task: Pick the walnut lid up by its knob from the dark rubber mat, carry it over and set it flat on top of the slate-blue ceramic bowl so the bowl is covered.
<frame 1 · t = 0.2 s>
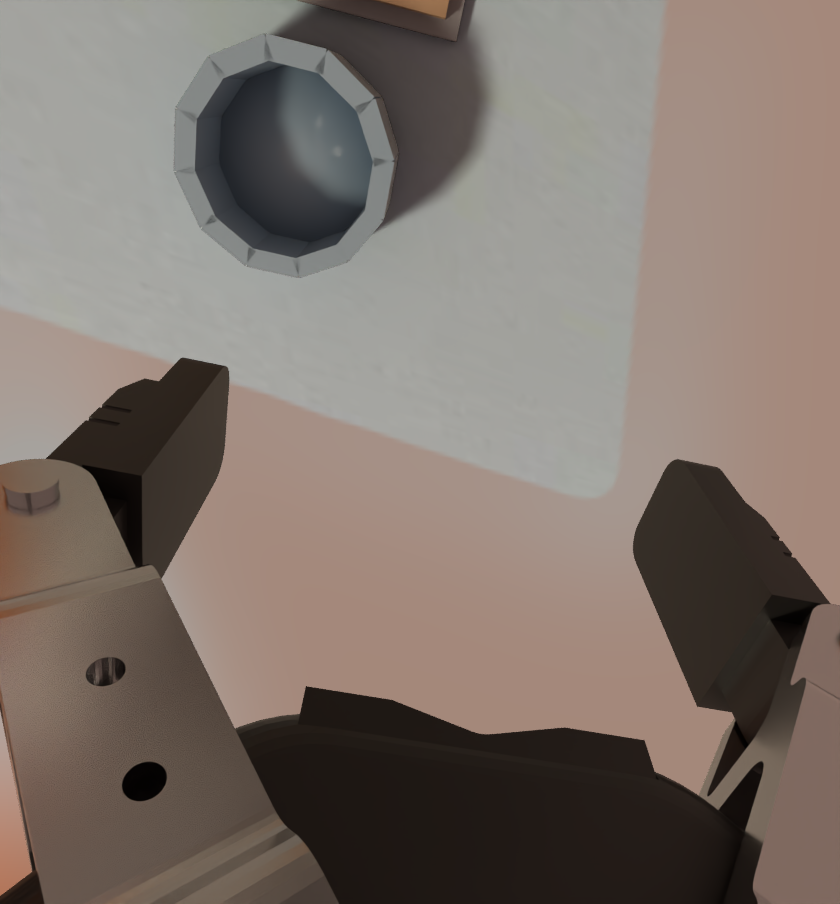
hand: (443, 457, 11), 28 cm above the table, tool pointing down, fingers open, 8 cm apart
bowl: (301, 157, 35), on the table
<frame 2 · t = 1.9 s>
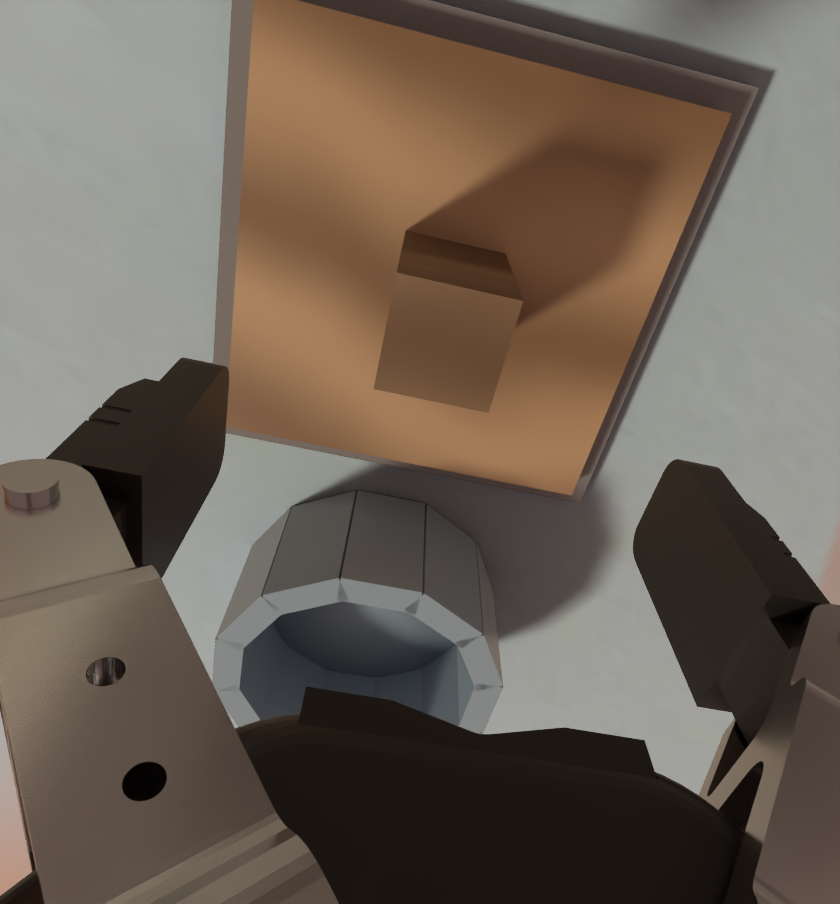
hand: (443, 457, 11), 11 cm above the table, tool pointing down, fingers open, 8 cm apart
lid: (443, 284, 20), point 1 cm above the table, touching mat
mat: (443, 278, 20), on the table
bowl: (368, 592, 27), on the table
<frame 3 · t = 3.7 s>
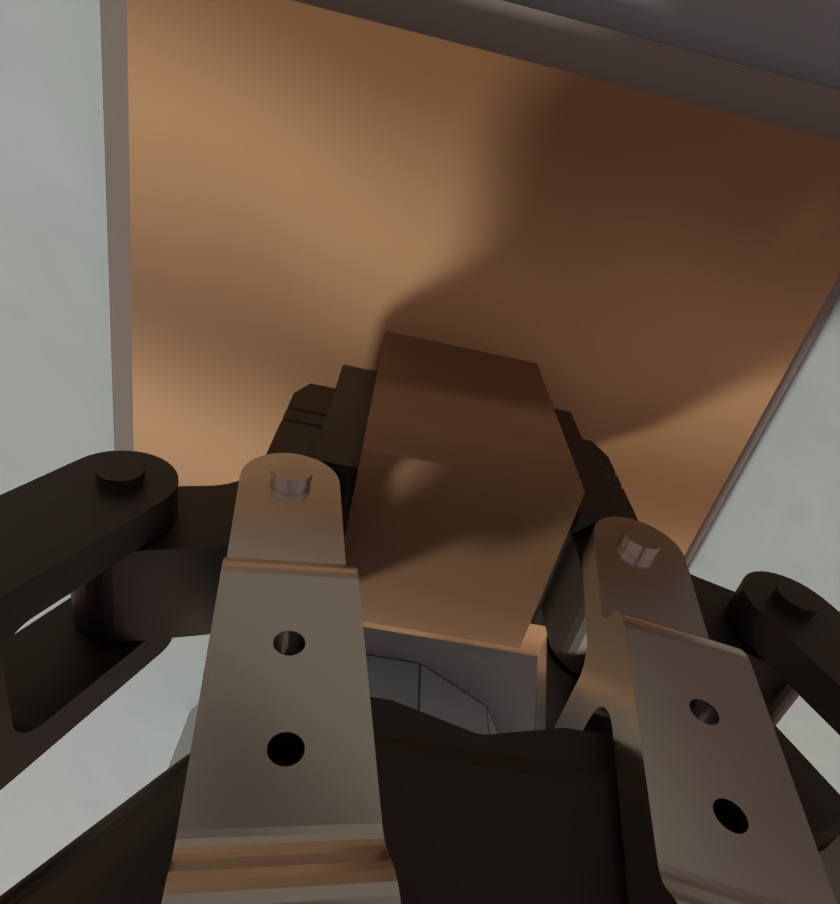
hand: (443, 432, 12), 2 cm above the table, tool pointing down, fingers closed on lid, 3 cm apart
lid: (443, 398, 14), point 1 cm above the table, touching gripper, mat
mat: (442, 386, 14), on the table
bowl: (346, 763, 21), on the table
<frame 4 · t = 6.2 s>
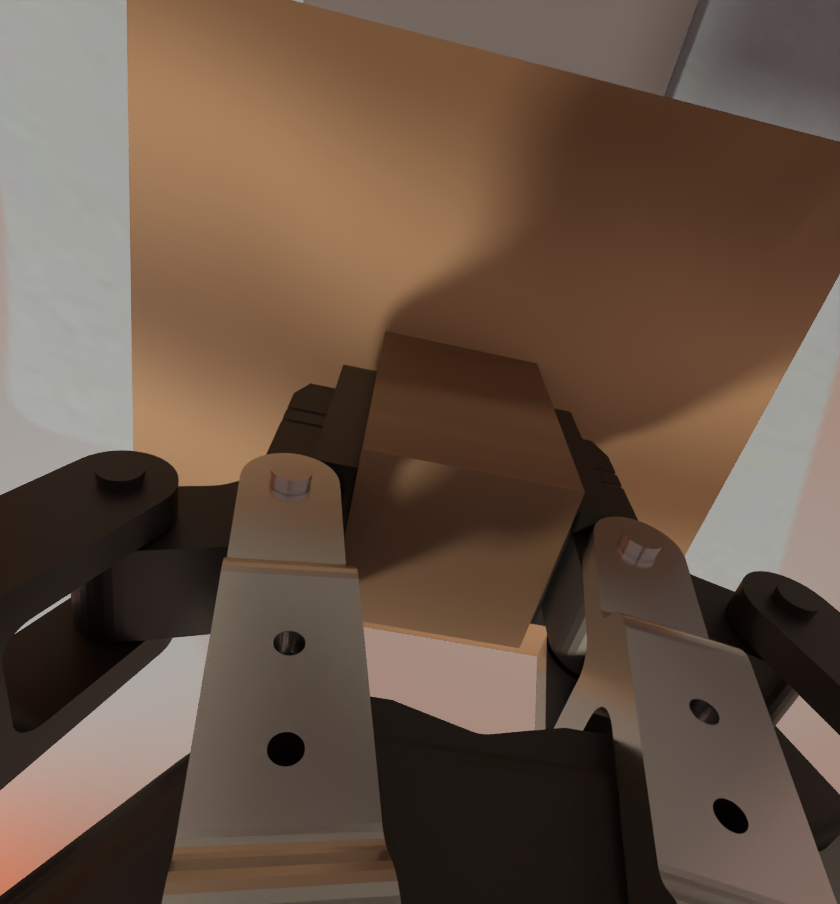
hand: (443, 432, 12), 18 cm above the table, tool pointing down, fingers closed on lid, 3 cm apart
lid: (443, 398, 14), point 17 cm above the table, touching gripper
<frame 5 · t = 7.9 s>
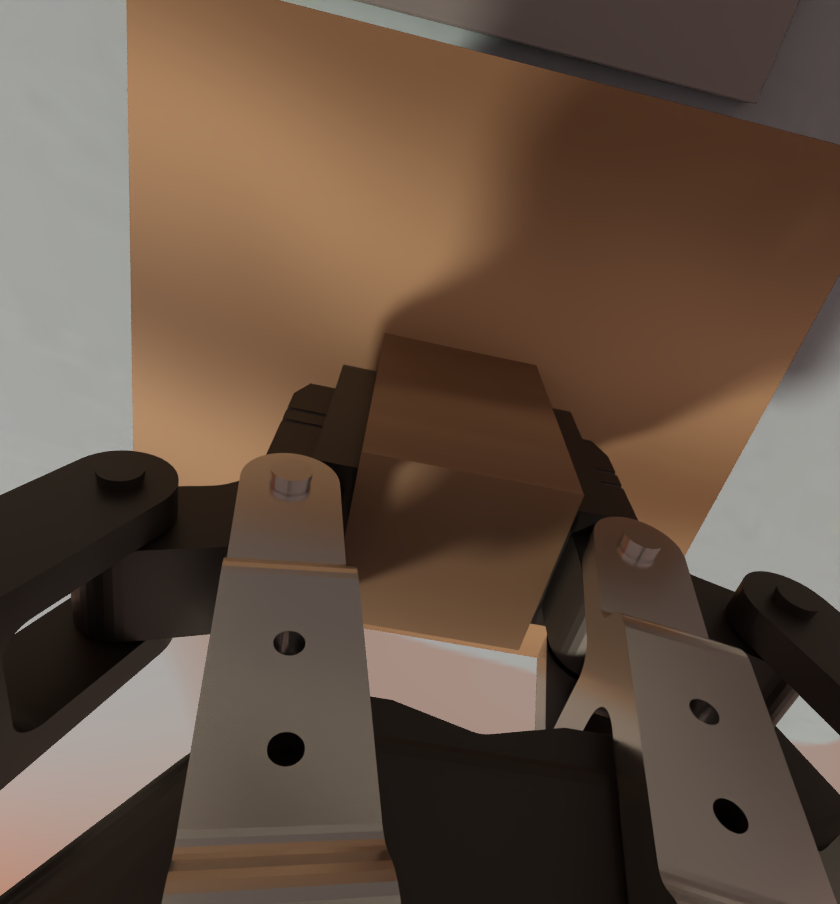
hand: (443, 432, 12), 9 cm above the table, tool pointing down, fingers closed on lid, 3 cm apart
lid: (443, 400, 14), point 8 cm above the table, touching gripper
when the fingers open (8 cm above the table, at t = 8.9 s): lid drops 1 cm, resting on bowl.
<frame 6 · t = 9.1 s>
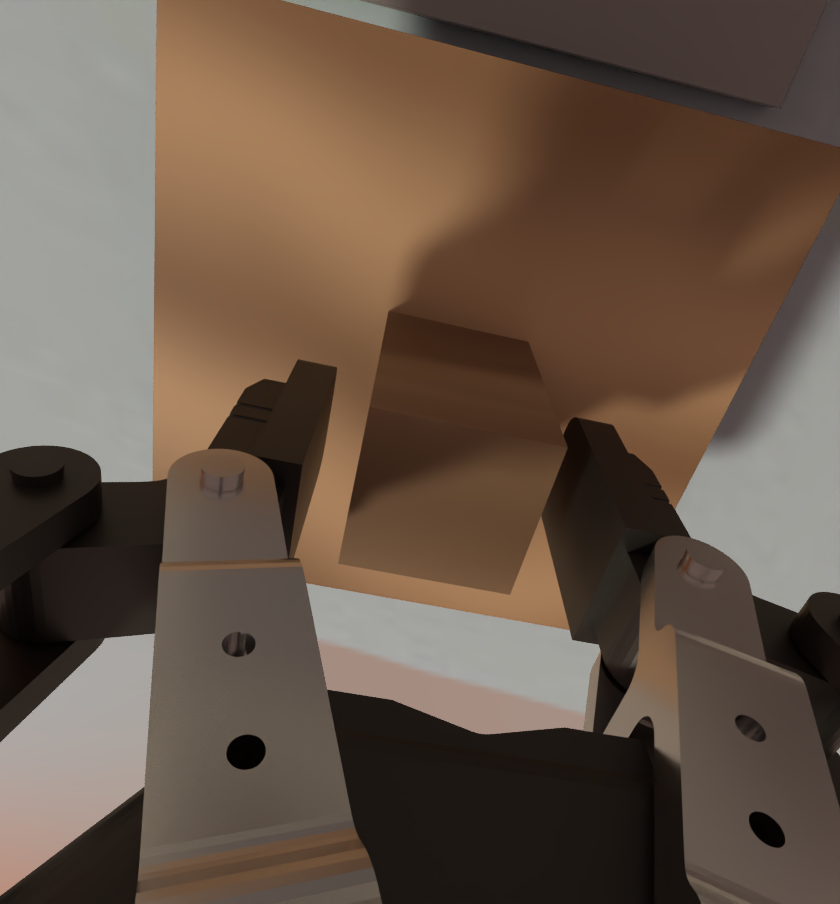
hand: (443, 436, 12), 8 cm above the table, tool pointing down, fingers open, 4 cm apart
lid: (441, 376, 15), point 5 cm above the table, touching bowl
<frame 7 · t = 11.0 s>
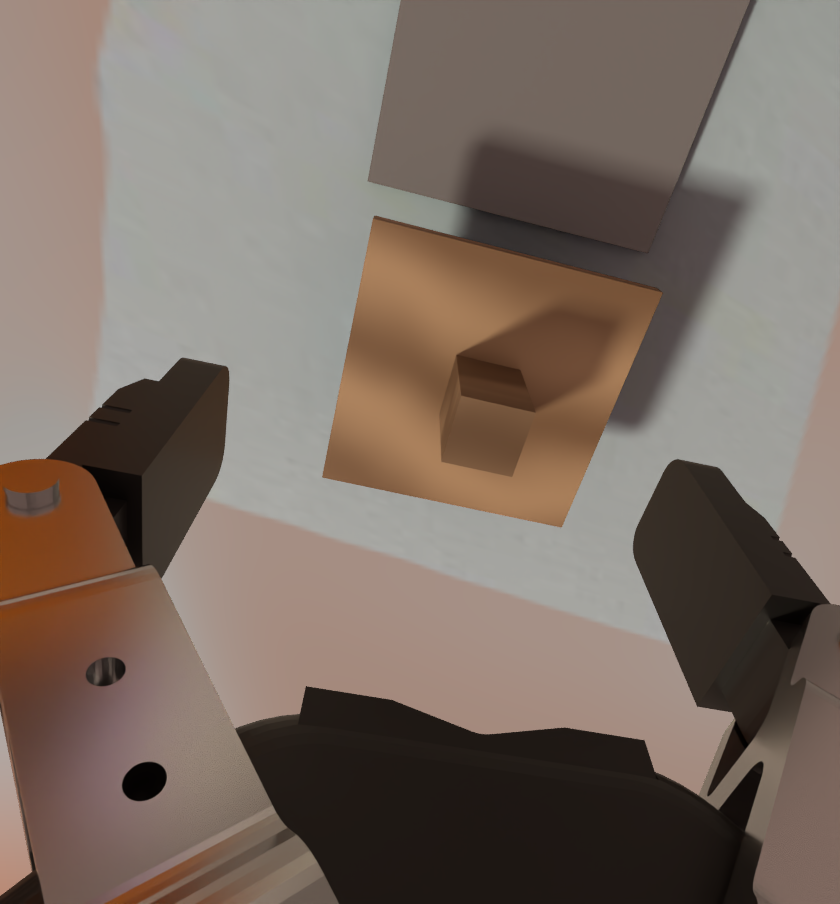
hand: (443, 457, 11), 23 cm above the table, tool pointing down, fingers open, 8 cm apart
lid: (477, 385, 30), point 5 cm above the table, touching bowl
mat: (558, 50, 27), on the table
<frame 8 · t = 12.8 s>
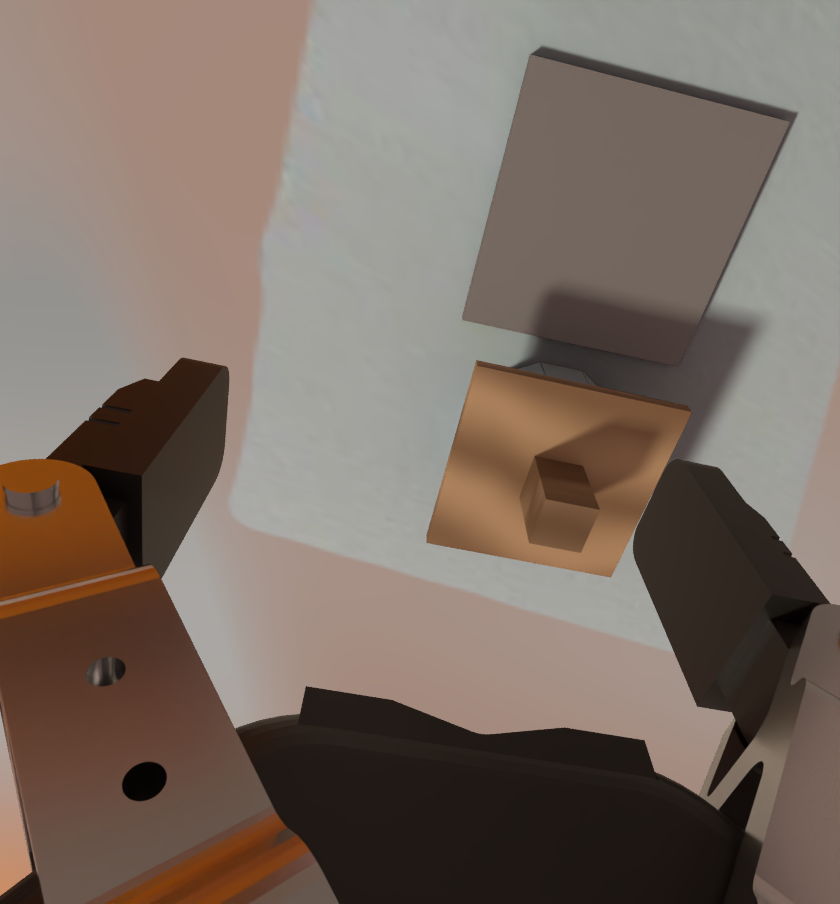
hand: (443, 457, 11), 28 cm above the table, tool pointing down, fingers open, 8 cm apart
lid: (548, 474, 39), point 5 cm above the table, touching bowl
mat: (610, 226, 36), on the table
bowl: (536, 435, 43), on the table
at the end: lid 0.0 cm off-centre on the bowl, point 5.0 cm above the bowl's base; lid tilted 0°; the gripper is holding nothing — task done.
